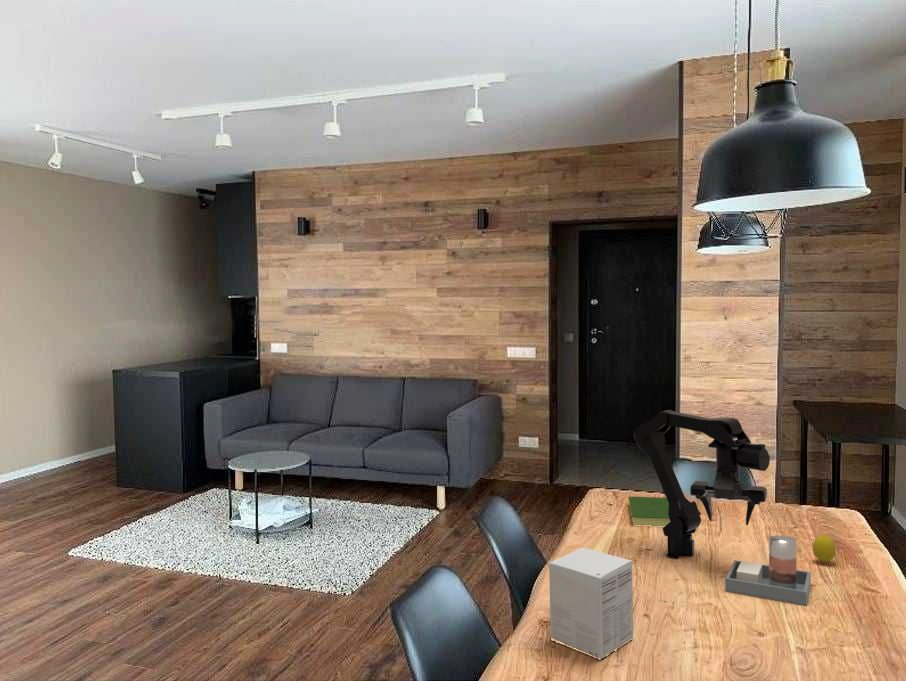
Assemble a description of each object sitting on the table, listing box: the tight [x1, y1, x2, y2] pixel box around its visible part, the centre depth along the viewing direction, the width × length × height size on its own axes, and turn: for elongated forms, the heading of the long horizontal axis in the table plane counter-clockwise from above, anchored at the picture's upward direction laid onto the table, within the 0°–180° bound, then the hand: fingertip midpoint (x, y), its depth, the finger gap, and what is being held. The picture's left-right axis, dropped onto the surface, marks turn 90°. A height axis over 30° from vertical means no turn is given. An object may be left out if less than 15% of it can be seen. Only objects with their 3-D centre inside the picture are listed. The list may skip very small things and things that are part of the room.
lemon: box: [812, 534, 836, 564], centre depth 192 cm, size 6×6×8 cm
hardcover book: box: [628, 495, 670, 526], centre depth 238 cm, size 25×19×4 cm
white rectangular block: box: [737, 560, 763, 583], centre depth 177 cm, size 5×8×4 cm, turn 149°
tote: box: [724, 560, 812, 606], centre depth 174 cm, size 18×14×4 cm
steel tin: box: [768, 534, 798, 589], centre depth 172 cm, size 6×6×13 cm
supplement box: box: [548, 547, 634, 659], centre depth 151 cm, size 13×13×18 cm
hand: (728, 522), depth 188 cm, fingers open, 9 cm apart
